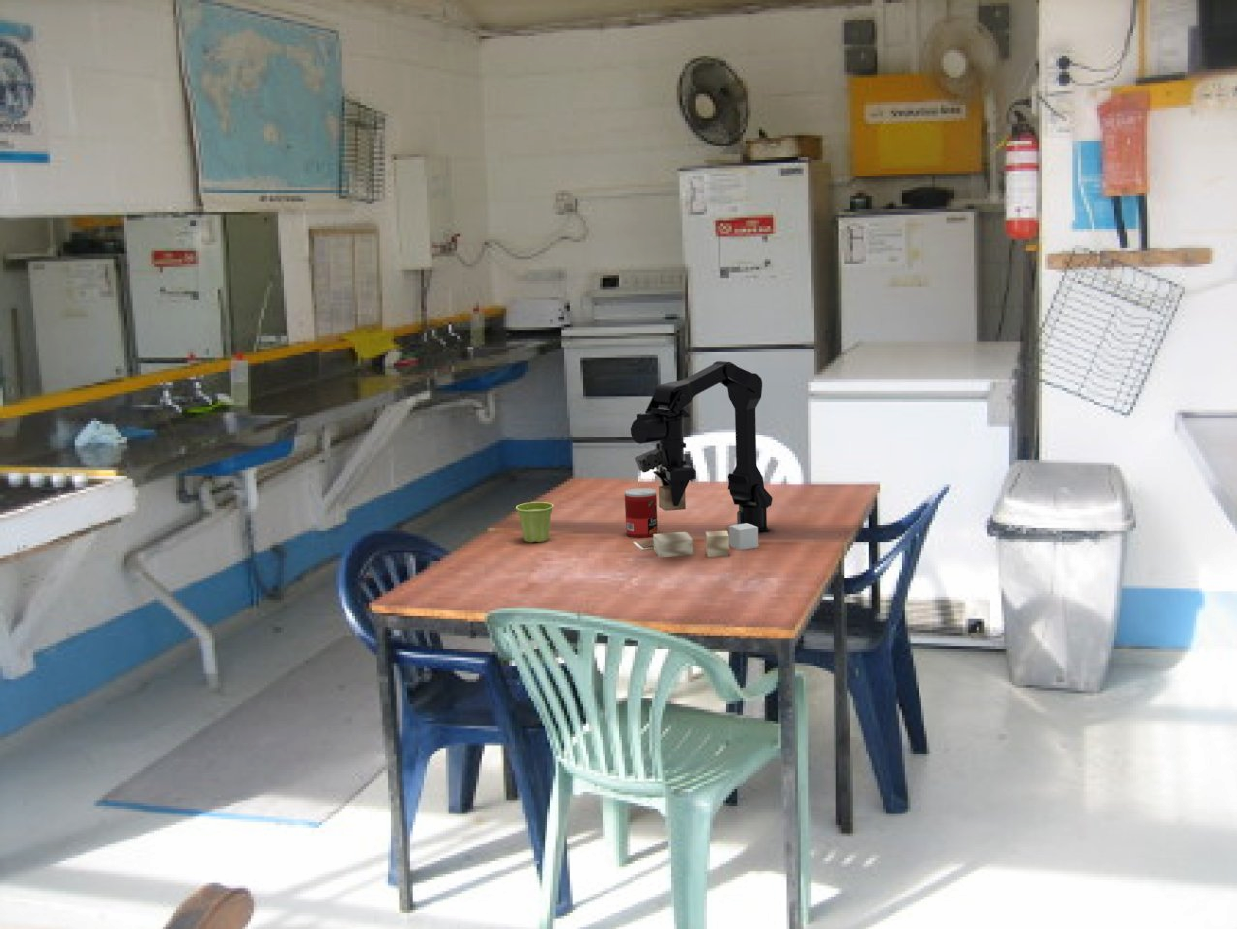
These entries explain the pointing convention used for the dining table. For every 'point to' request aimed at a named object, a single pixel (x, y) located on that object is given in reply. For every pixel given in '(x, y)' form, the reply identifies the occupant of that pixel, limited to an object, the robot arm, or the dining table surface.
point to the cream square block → (673, 544)
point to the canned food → (641, 512)
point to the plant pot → (535, 520)
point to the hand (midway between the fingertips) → (672, 503)
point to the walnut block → (669, 499)
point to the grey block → (743, 536)
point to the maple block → (717, 543)
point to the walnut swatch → (645, 544)
